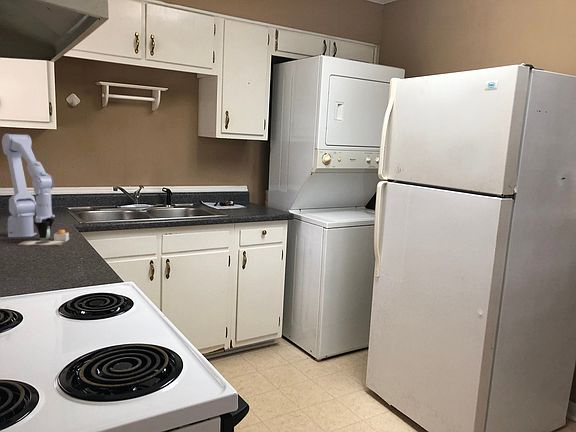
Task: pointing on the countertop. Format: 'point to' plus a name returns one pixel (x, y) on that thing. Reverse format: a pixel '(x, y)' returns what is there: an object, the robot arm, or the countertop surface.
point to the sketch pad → (41, 243)
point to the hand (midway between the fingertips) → (44, 236)
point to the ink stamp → (47, 235)
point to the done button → (61, 231)
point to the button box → (61, 237)
